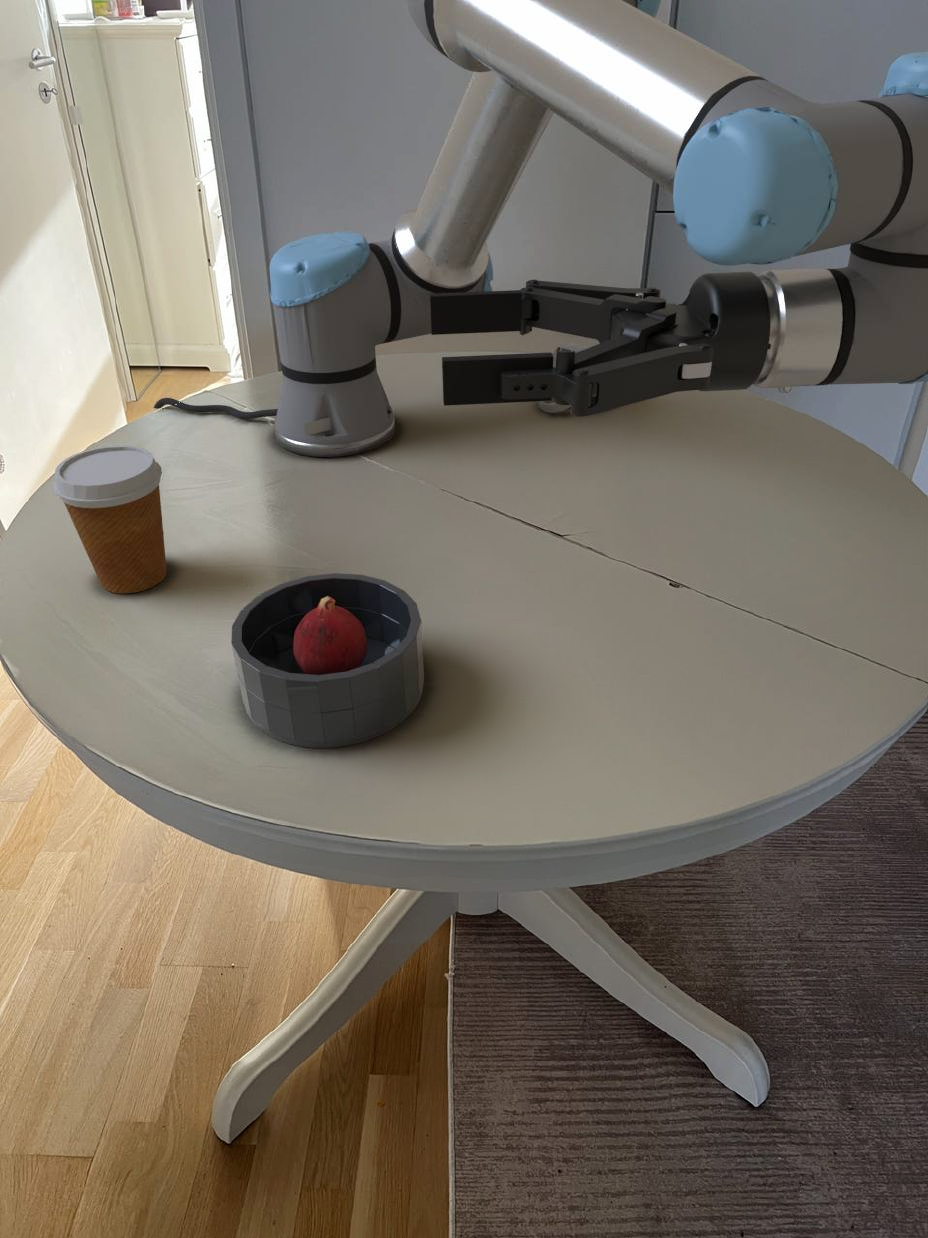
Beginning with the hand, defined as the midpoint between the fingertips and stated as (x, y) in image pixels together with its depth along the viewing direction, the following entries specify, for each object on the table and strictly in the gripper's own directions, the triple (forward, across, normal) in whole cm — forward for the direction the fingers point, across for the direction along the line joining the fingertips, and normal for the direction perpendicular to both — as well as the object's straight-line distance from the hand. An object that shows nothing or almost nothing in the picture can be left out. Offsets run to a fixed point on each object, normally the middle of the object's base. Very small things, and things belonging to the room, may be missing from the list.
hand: (435, 344), depth 60 cm
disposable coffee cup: (+29, +20, -28) cm, 45 cm away
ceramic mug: (-22, +59, -28) cm, 68 cm away
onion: (+9, 0, -28) cm, 29 cm away
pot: (+9, 0, -28) cm, 29 cm away
